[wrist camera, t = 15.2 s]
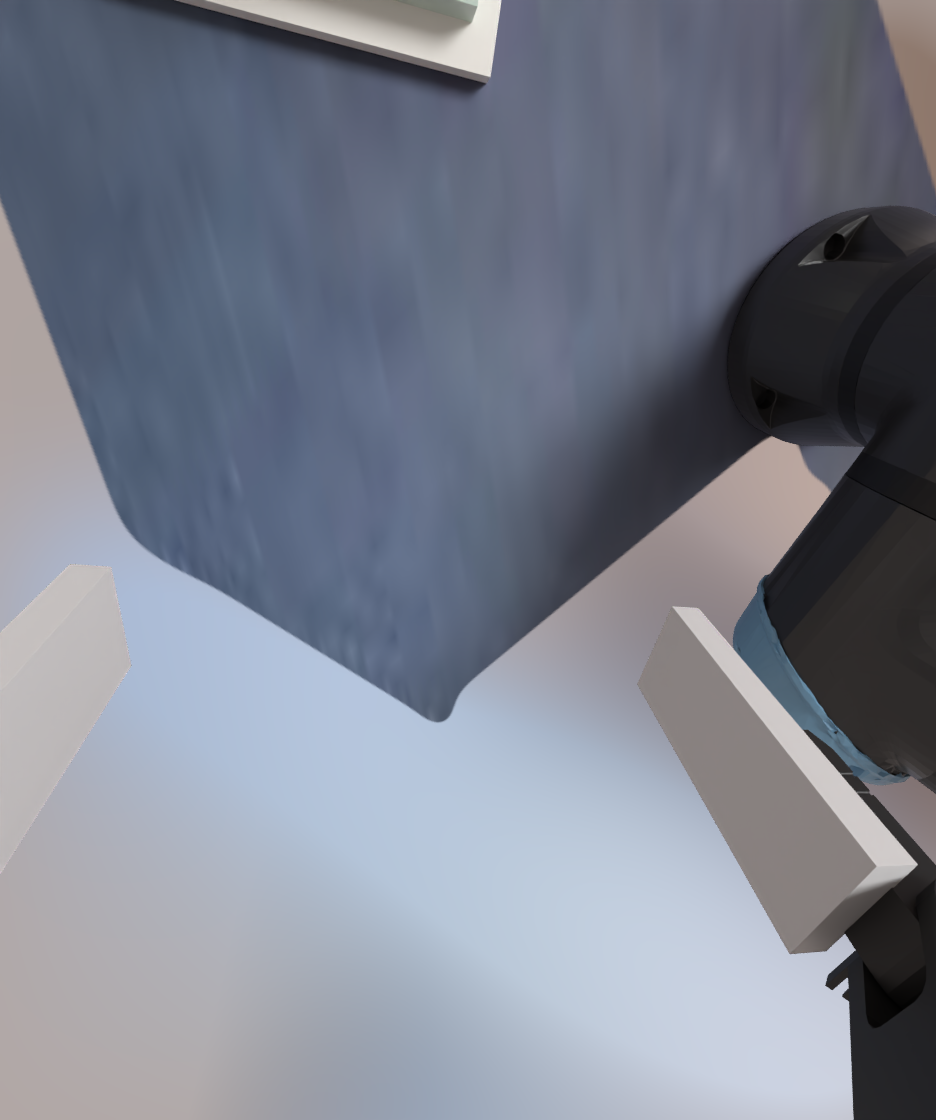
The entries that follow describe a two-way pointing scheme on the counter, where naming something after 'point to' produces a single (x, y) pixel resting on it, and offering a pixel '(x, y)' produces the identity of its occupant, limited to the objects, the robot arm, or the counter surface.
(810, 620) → the robot arm
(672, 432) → the counter surface
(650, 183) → the counter surface
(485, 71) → the pocket plate
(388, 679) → the counter surface
